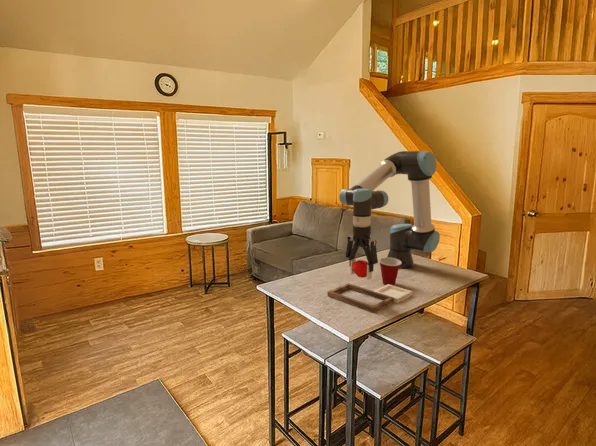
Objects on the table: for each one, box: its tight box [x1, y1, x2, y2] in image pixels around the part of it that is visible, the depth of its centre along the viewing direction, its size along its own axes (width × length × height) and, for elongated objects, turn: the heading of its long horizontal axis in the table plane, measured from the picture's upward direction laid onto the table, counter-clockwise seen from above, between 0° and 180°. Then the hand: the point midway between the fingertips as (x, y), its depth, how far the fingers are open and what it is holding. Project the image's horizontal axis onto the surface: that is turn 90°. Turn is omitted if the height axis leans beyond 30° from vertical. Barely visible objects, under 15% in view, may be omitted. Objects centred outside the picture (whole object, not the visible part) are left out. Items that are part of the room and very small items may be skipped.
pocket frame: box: [327, 282, 395, 313], centre depth 165 cm, size 15×25×2 cm, turn 44°
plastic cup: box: [378, 256, 402, 286], centre depth 182 cm, size 11×11×12 cm
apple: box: [352, 259, 369, 278], centre depth 163 cm, size 8×8×7 cm
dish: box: [373, 284, 413, 304], centre depth 169 cm, size 12×12×2 cm
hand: (361, 276), depth 164 cm, fingers closed on apple, 8 cm apart
